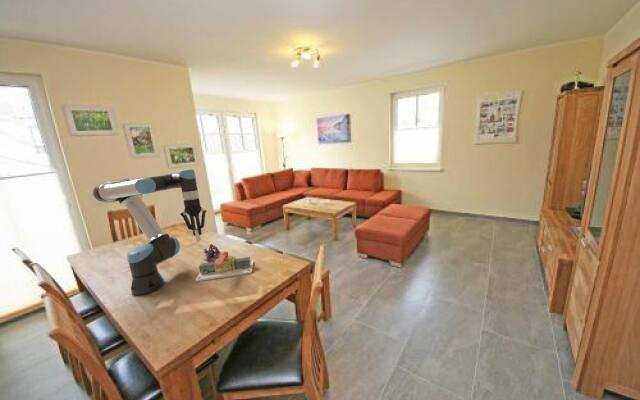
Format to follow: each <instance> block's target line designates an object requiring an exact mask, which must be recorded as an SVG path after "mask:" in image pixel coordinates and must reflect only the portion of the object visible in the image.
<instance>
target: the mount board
mask: <svg viewBox="0 0 640 400" xmlns="http://www.w3.org/2000/svg"><path fill="white" fill-rule="evenodd" d="M250 261H251V264H250V266H248V268H247V269H242V267H239V268H236V269H235V270H234V271H228V272H221V273H216V272H215V271H211V272H209V273H208V274H204V275H203V273H200V272H199V273H198V274H197V276H196V278H195V282H203V281H209V280H217V279H223V278H229V277H238V276H245V275H252V272H253V268H254V267H253V266H254V259H250Z"/></svg>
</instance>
